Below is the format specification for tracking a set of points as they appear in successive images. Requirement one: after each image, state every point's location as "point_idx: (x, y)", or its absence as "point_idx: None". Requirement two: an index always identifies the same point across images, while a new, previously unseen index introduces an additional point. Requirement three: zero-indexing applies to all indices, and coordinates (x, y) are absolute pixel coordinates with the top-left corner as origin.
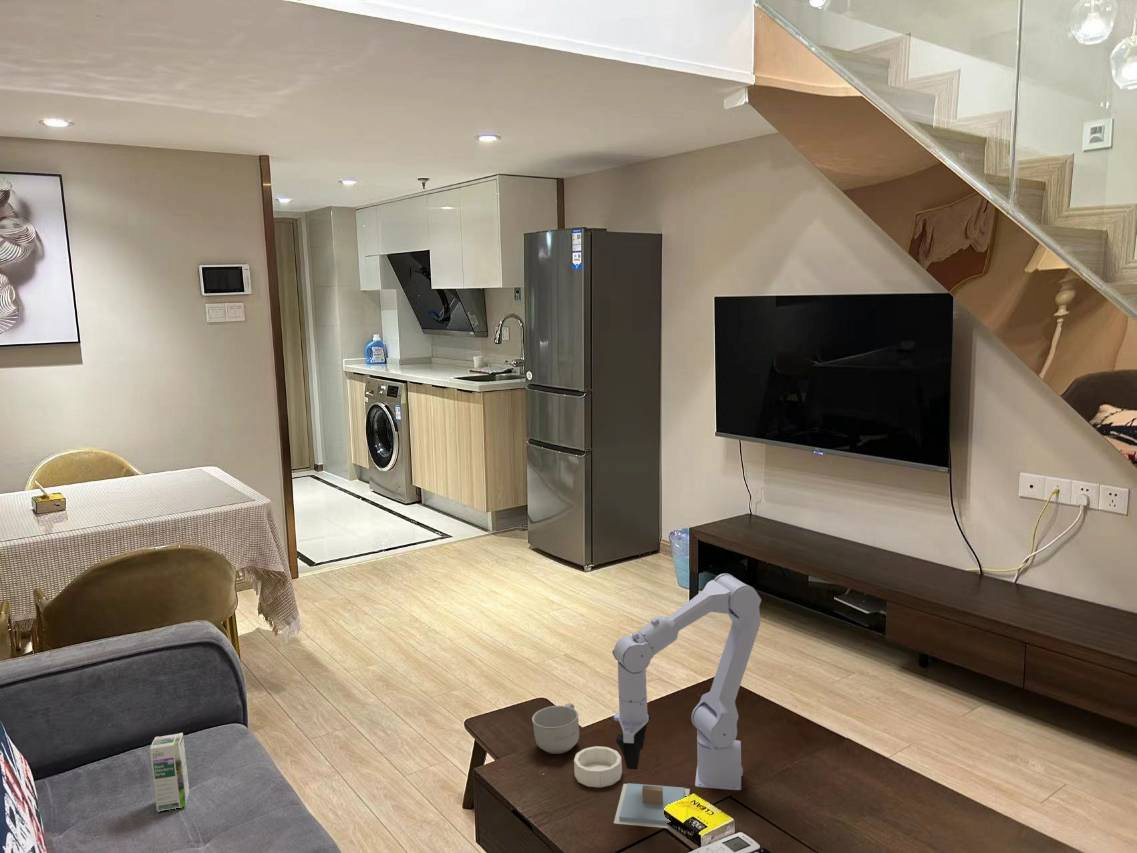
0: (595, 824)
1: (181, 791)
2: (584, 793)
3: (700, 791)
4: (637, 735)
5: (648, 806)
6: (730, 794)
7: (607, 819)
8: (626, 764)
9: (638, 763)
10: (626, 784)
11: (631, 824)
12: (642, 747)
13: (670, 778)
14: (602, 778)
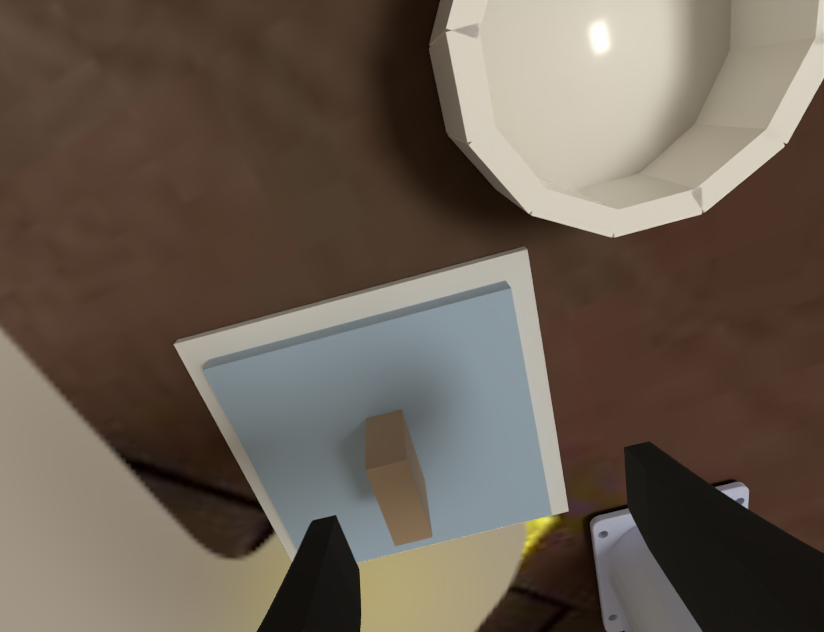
0: (126, 256)
1: None
2: (363, 51)
3: (571, 533)
4: (712, 600)
5: (353, 448)
6: (579, 606)
7: (202, 293)
8: (296, 556)
9: (358, 613)
10: (523, 267)
11: (214, 415)
12: (638, 527)
13: (641, 415)
14: (468, 152)
